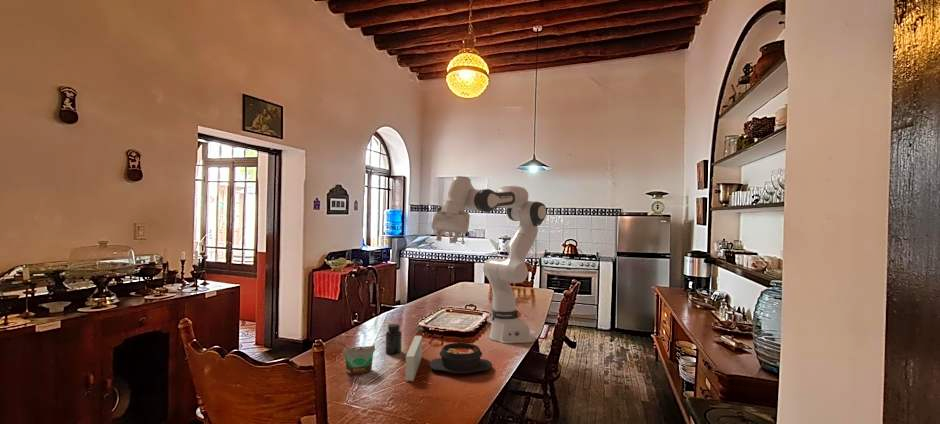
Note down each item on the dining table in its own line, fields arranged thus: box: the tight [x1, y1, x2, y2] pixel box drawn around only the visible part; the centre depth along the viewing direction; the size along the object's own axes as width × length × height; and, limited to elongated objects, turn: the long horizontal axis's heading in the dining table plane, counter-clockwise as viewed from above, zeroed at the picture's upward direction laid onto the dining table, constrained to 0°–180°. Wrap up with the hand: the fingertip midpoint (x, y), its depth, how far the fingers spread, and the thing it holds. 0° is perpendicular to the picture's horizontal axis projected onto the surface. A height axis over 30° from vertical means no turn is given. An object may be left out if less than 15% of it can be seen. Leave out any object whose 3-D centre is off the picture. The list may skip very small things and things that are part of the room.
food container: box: [342, 343, 376, 377], centre depth 168 cm, size 12×6×10 cm, turn 117°
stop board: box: [404, 335, 423, 382], centre depth 175 cm, size 3×26×9 cm, turn 0°
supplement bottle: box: [385, 323, 403, 356], centre depth 193 cm, size 7×7×12 cm
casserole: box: [428, 342, 493, 375], centre depth 174 cm, size 25×19×8 cm
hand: (445, 241), depth 190 cm, fingers open, 8 cm apart
